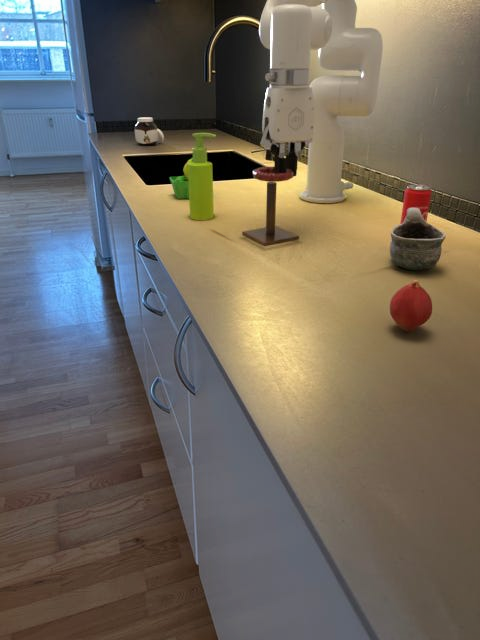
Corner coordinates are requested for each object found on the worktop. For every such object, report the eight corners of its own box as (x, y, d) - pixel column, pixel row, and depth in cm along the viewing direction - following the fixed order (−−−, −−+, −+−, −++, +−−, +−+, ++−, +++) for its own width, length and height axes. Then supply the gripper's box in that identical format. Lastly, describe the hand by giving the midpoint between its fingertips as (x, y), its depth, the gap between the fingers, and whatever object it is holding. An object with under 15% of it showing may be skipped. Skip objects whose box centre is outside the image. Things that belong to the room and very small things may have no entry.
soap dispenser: (214, 221, 125) (212, 135, 116) (187, 219, 127) (183, 134, 118) (220, 214, 131) (218, 131, 121) (193, 213, 132) (190, 131, 123)
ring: (278, 171, 111) (278, 164, 110) (301, 179, 105) (301, 171, 104) (245, 176, 107) (245, 168, 107) (267, 184, 101) (267, 176, 100)
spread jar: (134, 145, 235) (131, 118, 229) (142, 142, 245) (140, 116, 239) (159, 146, 233) (157, 119, 228) (166, 142, 243) (164, 116, 237)
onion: (381, 321, 77) (388, 272, 74) (418, 320, 78) (426, 271, 74) (394, 340, 72) (402, 288, 68) (434, 339, 72) (444, 287, 69)
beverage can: (423, 240, 112) (432, 185, 106) (422, 247, 107) (432, 190, 102) (398, 238, 113) (406, 183, 108) (396, 245, 109) (405, 188, 103)
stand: (275, 231, 118) (277, 176, 112) (299, 242, 111) (302, 184, 105) (242, 238, 113) (242, 181, 108) (264, 249, 107) (265, 189, 101)
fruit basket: (207, 191, 153) (206, 152, 148) (215, 198, 146) (214, 157, 141) (169, 194, 150) (167, 154, 145) (176, 201, 142) (173, 159, 137)
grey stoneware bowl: (395, 276, 93) (403, 223, 89) (375, 253, 104) (381, 205, 100) (446, 275, 94) (457, 222, 89) (421, 252, 105) (429, 204, 100)
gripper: (265, 81, 93) (263, 183, 101) (333, 79, 100) (326, 175, 108) (244, 79, 98) (244, 176, 107) (309, 77, 106) (304, 169, 114)
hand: (285, 175), depth 107 cm, fingers closed on ring, 2 cm apart
